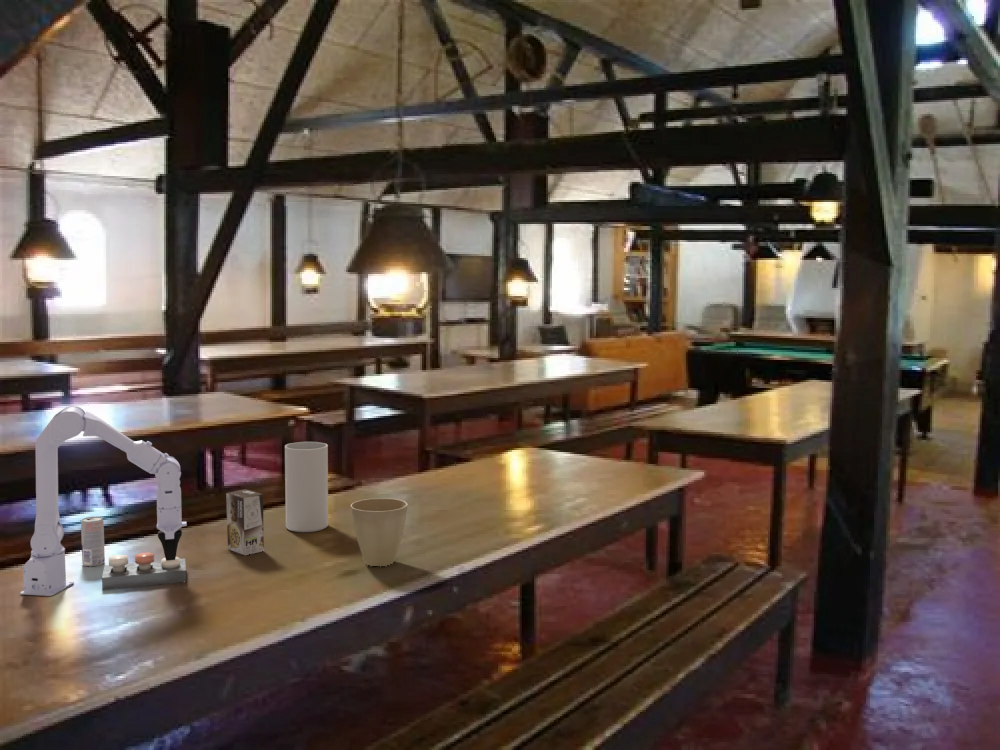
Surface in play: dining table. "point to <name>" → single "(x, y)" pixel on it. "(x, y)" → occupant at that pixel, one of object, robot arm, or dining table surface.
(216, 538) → the dining table surface
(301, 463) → the cylinder vase
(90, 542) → the energy drink
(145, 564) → the middle cap
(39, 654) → the dining table surface
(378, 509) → the plant pot
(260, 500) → the coffee box
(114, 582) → the mount
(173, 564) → the far cap
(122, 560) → the near cap
